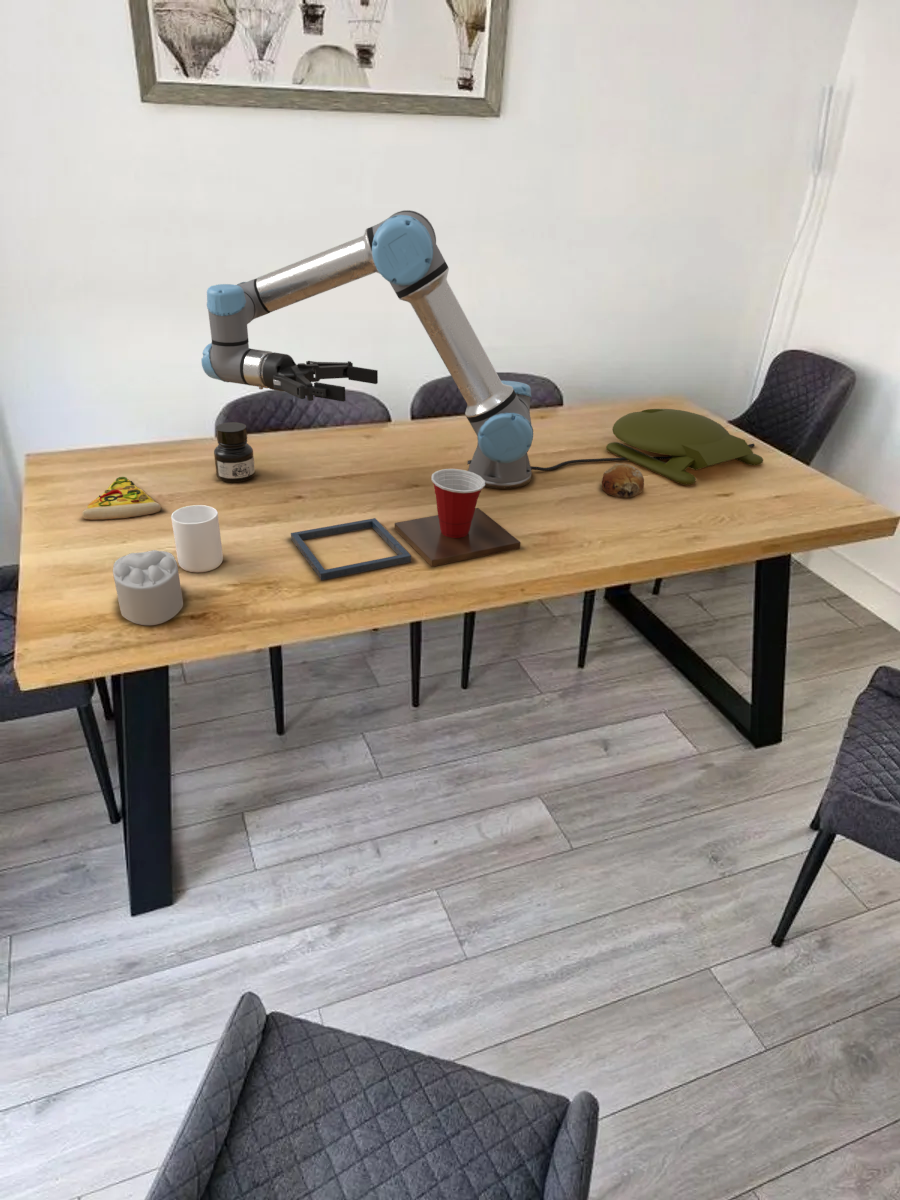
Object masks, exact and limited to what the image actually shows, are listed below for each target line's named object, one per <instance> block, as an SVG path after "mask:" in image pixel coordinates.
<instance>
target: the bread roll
mask: <svg viewBox="0 0 900 1200" xmlns="http://www.w3.org/2000/svg"><path fill="white" fill-rule="evenodd" d="M644 487H645V477H644V475H643V473H642V471H640V470H639V469H638V468H636V467H635V466H633V465H631V464H628V463H615V464H614V465H612V466H611V467H609V468H608V469H606V470H604V472H603V474H602V478H601V489H602V491H603V492H604V493H605V494H607V495H609V496H611V497H612V496H613V497H618V498H623V499H624V498H633V497H635V496H638V495H640V494H641V493H642V492H643V491H644Z"/></svg>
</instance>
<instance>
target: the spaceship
mask: <svg viewBox="0 0 900 1200" xmlns="http://www.w3.org/2000/svg"><path fill="white" fill-rule="evenodd" d="M612 434H613V435H614V437H615V438H617V439H618V440H619V441H621V442H623V443H621V442H618V441H612V442H609V443H607V444H606V446H605V449H606V450H607V451H608V452H609V453H611V454H613V455H615V456H618V458H626V459H627V460H628V462H630V463H633V464H635V465H637V466H640V467H642V468H644V469H646V470H647V471H650V472H653V473H655V474H657V475H660V476H662V477H664V478H666V479H668V480H670V481H673V482H675V483H677V484H679V485H683V486H690V485H693V484H695V483H696V482H697V478H696V476H695V475H694V474H692V473H691V472H688V471H687V469H691V470H694V471H697V470H701V469H704V468H708V467H712V466H715V465H719V464H723V463H727V462H731V461H734V460H736V461H737V462H738V461H739V462H741V463H743V464H746V465H749V466H754V467H755V466H761V464H763V463H764V458H763V457H762V456H761V455H760V454H756V453H754V451H753V450H752V448H751V447H749V446H748V445H749V444H748V443H747V441H746V440H745V439H744V438H743V439H742V438H740V437H738V436H735V435H733V434H730V432H729V431H728V430H727V429H726V428H725V427H724V426H723V425H721V424H720V423H718V422H717V421H715V420H713V419H711V418H709V417H707V416H705V415H702V414H698V413H695V412H690V411H687V410H681V409H673V408H647V409H643V410H641V411H632V412H630V413H627V414H625V415H623V416H620V417H619V418H618V419H617V420H616V421H615V422H614V424H613V425H612ZM626 444H627V445H626ZM636 448H637V449H636ZM638 449H639V450H638ZM640 450H643V451H645V452H649V453H655V454H660V455H664V456H671V457H672V458H671V459H668V461H667V462H665V461H663V460H662V459H660V460H658V459H656V458H654V457H655V456H651V455H649V454H647V453H644V452H642V451H640Z"/></svg>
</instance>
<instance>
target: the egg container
mask: <svg viewBox="0 0 900 1200" xmlns="http://www.w3.org/2000/svg"><path fill="white" fill-rule="evenodd" d="M178 566H179V565H178V561H177V560H176V557H175V556H174V555H173V554H172V553H171V552H169V551H165V550H158V549H153V550H148V551H143V552H131V553H128V554H125V555H123V556H121V557H119V558H117V559H116V560H115V562H114V563H113V568H112V575H113V580H114V581H113V582H114V585H115V591H116V595H117V600H118V605H119V610H120V615H121V616H122V617H123V618H124V619H126V620H127V621H129V622H130V623H133V624H136V625H142V626H157V625H160V624H163V623H166V622H168V621H169V620H171V619H173V618H174V617H175V616H177V614H179V612H180V611H181V610H182V609H183V607H184V599H183V591H182V587H181V580H180V579H181V578H180V573H179V567H178Z"/></svg>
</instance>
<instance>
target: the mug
mask: <svg viewBox="0 0 900 1200" xmlns="http://www.w3.org/2000/svg"><path fill="white" fill-rule="evenodd" d="M170 519H171V526H172V531H173V532H172V533H173V537H174V544H175V551H176V557H177V564H178V566H179V567H180V568H181V569H182V570H184V571H186V572H189V573H198V574H199V573H207V572H211V571H214V570H215V569H217V568H219V567H220V566H221V564H222V563H223V560H224V554H223V545H222V537H221V528H220V521H219V512H218V510H217V509H216V508H214V507H213V506H210V505H204V504H192V505H186V506H182V507H179V508H177V509H175V510H174V511H173V512H172V513H171V515H170Z"/></svg>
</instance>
